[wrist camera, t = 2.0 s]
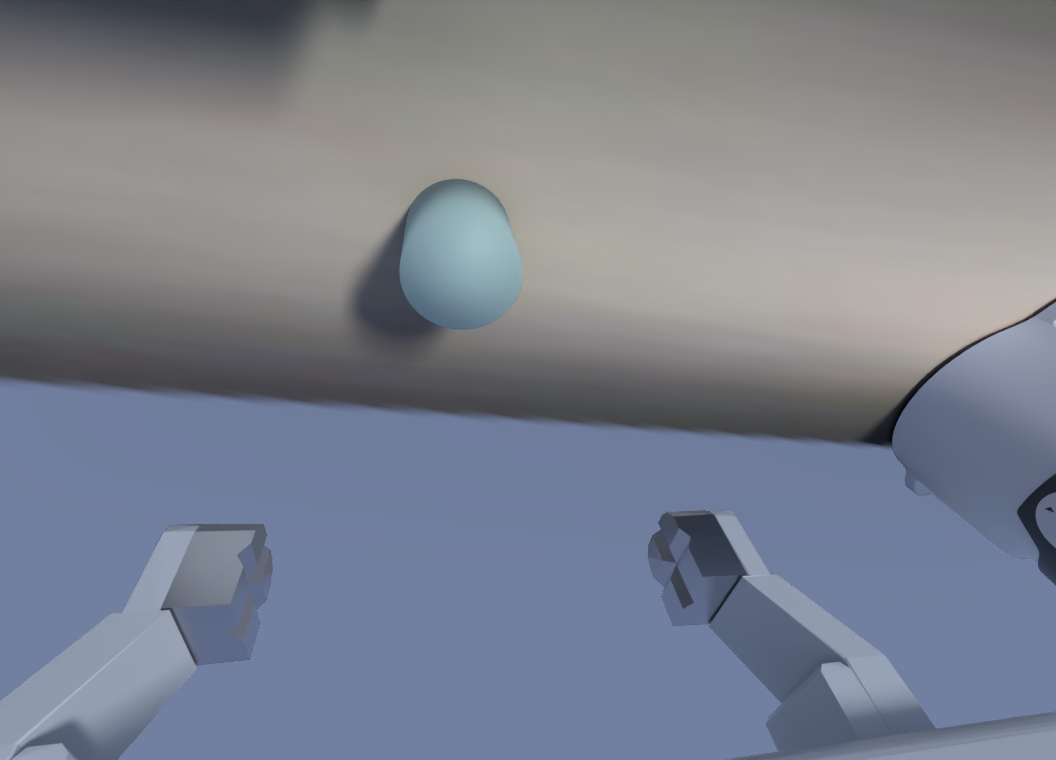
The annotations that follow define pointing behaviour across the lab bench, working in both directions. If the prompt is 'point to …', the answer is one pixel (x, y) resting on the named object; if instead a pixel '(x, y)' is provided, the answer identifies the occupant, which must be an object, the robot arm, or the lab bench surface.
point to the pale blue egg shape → (459, 256)
